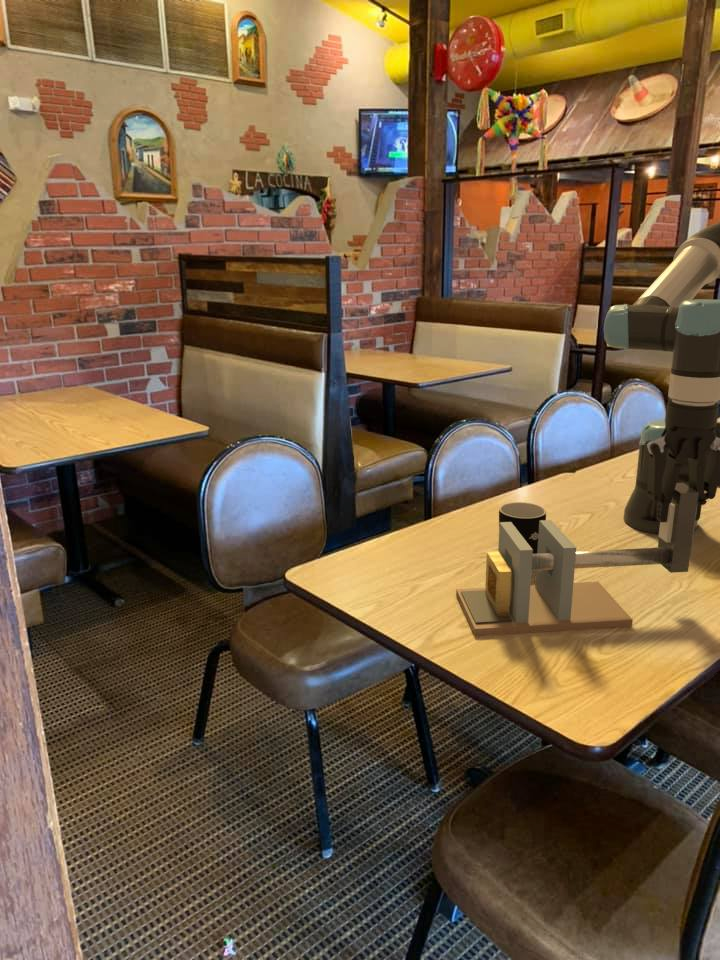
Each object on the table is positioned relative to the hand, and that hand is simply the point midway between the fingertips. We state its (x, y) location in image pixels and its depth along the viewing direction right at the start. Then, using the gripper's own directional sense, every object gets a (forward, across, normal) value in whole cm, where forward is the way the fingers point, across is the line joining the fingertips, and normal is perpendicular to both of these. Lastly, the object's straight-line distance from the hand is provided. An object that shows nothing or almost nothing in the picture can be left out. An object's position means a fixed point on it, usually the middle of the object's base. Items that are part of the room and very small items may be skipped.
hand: (675, 538), depth 121 cm
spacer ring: (+7, +30, 0) cm, 31 cm away
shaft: (+5, +12, 0) cm, 13 cm away
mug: (+12, +18, -23) cm, 32 cm away
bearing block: (+12, +22, 0) cm, 26 cm away
